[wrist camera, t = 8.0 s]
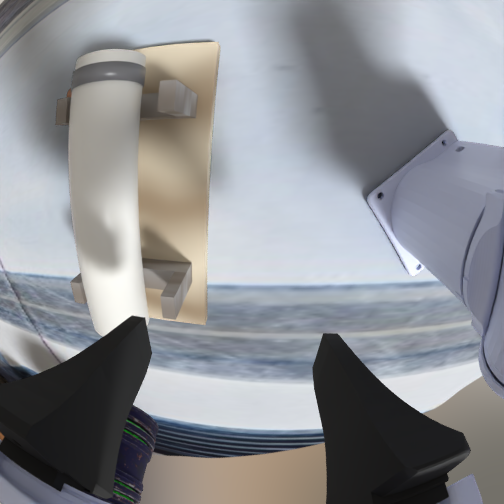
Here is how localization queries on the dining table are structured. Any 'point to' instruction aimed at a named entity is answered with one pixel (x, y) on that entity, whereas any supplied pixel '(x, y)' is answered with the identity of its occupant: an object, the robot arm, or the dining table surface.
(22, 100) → the dining table surface
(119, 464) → the storage jar
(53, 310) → the dining table surface
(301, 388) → the dining table surface
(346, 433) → the robot arm
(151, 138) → the tube stand
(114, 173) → the tube
